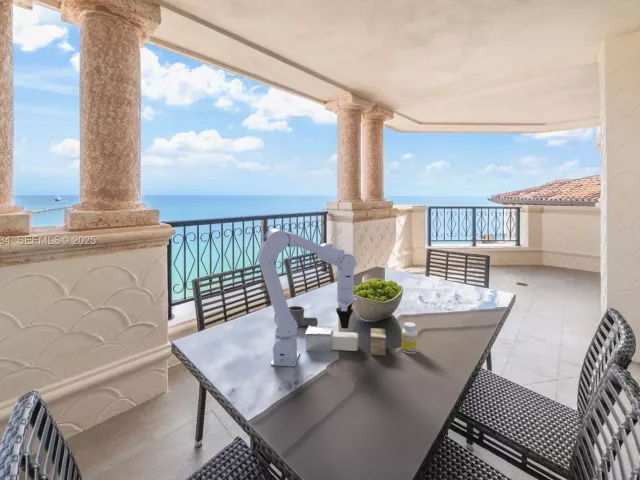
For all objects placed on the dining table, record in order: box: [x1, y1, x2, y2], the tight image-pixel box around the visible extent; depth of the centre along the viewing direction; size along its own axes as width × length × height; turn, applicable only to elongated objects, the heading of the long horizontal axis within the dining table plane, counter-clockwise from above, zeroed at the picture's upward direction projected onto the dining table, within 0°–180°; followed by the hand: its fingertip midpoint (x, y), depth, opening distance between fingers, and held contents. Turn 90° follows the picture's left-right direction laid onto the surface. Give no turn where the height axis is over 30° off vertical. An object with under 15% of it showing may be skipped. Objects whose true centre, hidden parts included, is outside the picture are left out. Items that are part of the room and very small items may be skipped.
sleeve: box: [305, 325, 333, 353], centre depth 117 cm, size 7×9×6 cm
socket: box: [370, 327, 387, 357], centre depth 114 cm, size 7×5×6 cm
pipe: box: [288, 305, 318, 328], centre depth 135 cm, size 6×13×8 cm, turn 78°
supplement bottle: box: [401, 321, 419, 355], centre depth 113 cm, size 5×5×10 cm
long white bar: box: [331, 331, 359, 352], centre depth 116 cm, size 4×17×5 cm, turn 82°
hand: (345, 323), depth 115 cm, fingers open, 7 cm apart
